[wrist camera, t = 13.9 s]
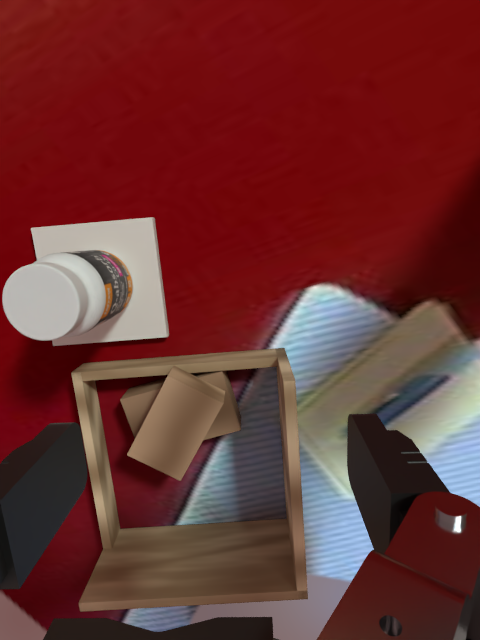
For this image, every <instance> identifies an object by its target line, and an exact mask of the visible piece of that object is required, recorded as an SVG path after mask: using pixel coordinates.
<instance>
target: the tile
mask: <svg viewBox="0 0 480 640" xmlns="http://www.w3.org/2000/svg"><path fill="white" fill-rule="evenodd" d="M31 231H32V237H33V242H34V247H35V253H36V258H37V260H38V259H40V258H42V257H44V256H46V255H49V254H52V253H60V252H75V251H88V250H102V251H106V252H109V253H112V254H114V255H116V256H117V257H119V258H120V259H121V260H122V261H123V262H124V263H125V264H126V265H127V267H128V269H129V270H130V273H131V275H132V278H133V294H132V297H131V300H130V302H129V304H128V305H127V307H126V308H125V309H124V310H123V311H122V312H120V313H119V314H117V315H116V316H114V317H112V318H111V319H109V320H107V321H105V322H103V323H101V324H100V325H98V326H96V327H95V328H93V329H91V330H90V331H88V332H86V333H84V334H82V335H79V336H75V337H61V338H58V339H55V340H52V343H53V346H59V345H72V344H85V343H98V342H111V341H124V340H137V339H149V338H162V337H168V336H169V330H168V322H167V314H166V306H165V298H164V290H163V282H162V274H161V266H160V258H159V250H158V242H157V234H156V226H155V218H153V217H151V218H140V219H128V220H117V221H105V222H94V223H83V224H71V225H60V226H49V227H37V228H31Z"/></svg>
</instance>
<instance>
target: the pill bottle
mask: <svg viewBox="0 0 480 640" xmlns="http://www.w3.org/2000/svg"><path fill="white" fill-rule="evenodd" d="M132 294H133V278H132V275H131V273H130V270H129V269H128V267H127V265H126V264H125V263H124V262H123V261H122V260H121V259H120V258H119V257H117V256H116V255H114V254H112V253H109V252H106V251H102V250H88V251H75V252H60V253H52V254H49V255H46V256H44V257H42V258H40V259H38V260H37V261H36V262H34V263H33V264H30V265H26V266H23V267H21V268H19V269H18V270H16V271H15V272H14V273H13V274H12V275H11V276H10V277H9V279H8V280H7V282H6V284H5V286H4V290H3V296H2V301H3V307H4V311H5V314H6V316H7V318H8V320H9V321H10V323H11V324H12V325H13V326H14V327H15V328H16V329H17V330H18V331H19V332H20V333H22V334H23V335H25V336H27V337H29V338H32V339H35V340H42V341H49V340H55V339H58V338H61V337H75V336H79V335H82V334H84V333H86V332H88V331H90V330H91V329H93V328H95V327H96V326H98V325H100V324H101V323H103V322H105V321H107V320H109V319H111V318H112V317H114V316H116V315H117V314H119V313H120V312H122V311H123V310H124V309H125V308H126V307H127V305H128V304H129V302H130V300H131V297H132Z"/></svg>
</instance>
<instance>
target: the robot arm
mask: <svg viewBox="0 0 480 640" xmlns="http://www.w3.org/2000/svg"><path fill="white" fill-rule="evenodd" d="M347 466H348V475H349V481H350V485H351V488H352V491H353V493H354V496H355V499H356V502H357V504H358V507H359V510H360V512H361V515H362V518H363V521H364V523H365V526H366V529H367V532H368V534H369V537H370V540H371V542H372V545H373V548H374V550H372V551H371V552H370V553H369V554H368V556H367V557H366V559H365V561H364V562H363V564H362V566H361V567H360V569H359V570H358V572H357V574H356V575H355V577H354V579H353V580H352V582H351V584H350V585H349V587H348V589H347V590H346V592H345V594H344V595H343V597H342V599H341V600H340V602H339V604H338V605H337V607H336V609H335V610H334V612H333V613H332V615H331V617H330V619H329V620H328V622H327V623H326V625H325V627H324V628H323V630H322V632H321V633H320V635H319V637H318V638H317V640H480V507H479V506H477V505H476V504H474V503H473V502H471V501H470V500H468V499H466V498H463V497H461V496H458V495H455V494H452V493H450V492H449V490H448V489H447V488H446V486H445V485H444V484H443V482H442V481H441V479H440V478H439V477H438V475H437V474H436V473H435V471H434V470H433V468H432V467H431V466H430V464H429V463H427V460H426V459H425V458H424V456H423V455H422V453H420V451H419V449H418V448H417V447H416V445H415V444H414V442H413V441H412V440H411V439H410V438H408V437H407V436H405V435H403V434H402V433H400V432H399V431H397V430H388V431H387V430H386V428H385V427H384V425H383V424H382V422H381V420H380V419H379V417H378V416H377V414H350V415H349V417H348V448H347ZM86 481H87V465H86V459H85V453H84V447H83V440H82V434H81V429H80V426H79V425H78V424H77V423H51V424H49V425H47V426H46V427H45V428H44V429H43V430H42V431H41V432H40V433H39V434H38V435H37V436H36V437H35V438H34V439H33V440H32V441H29V442H27V443H26V444H24V445H22V446H20V447H19V448H17V449H15V450H14V451H12V452H11V453H10V454H9V455H8V456H7V457H6V458H5V459H4V460H3V461H2V463H1V464H0V589H20V587H21V586H22V584H23V583H24V581H25V580H26V578H27V577H28V575H29V574H30V572H31V570H32V569H33V567H34V566H35V564H36V563H37V561H38V560H39V558H40V557H41V555H42V554H43V552H44V551H45V549H46V547H47V546H48V544H49V543H50V541H51V540H52V538H53V537H54V535H55V534H56V532H57V531H58V529H59V527H60V526H61V524H62V523H63V521H64V520H65V518H66V517H67V515H68V514H69V512H70V511H71V509H72V508H73V506H74V504H75V503H76V501H77V500H78V498H79V497H80V495H81V494H82V492H83V490H84V488H85V485H86ZM43 640H279V639H275V638H273V624H272V617H221V618H219V617H218V618H214V619H210V620H206V621H202V622H198V623H194V624H190V625H187V626H183V627H179V628H175V629H171V630H167V631H163V632H153V631H149V630H146V629H142V628H139V627H135V626H132V625H128V624H125V623H121V622H118V621H114V620H111V619H107V618H74V619H54V620H53V621H52V623H51V625H50V627H49V629H48V631H47V633H46V635H45V637H44V639H43Z"/></svg>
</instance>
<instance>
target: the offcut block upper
mask: <svg viewBox="0 0 480 640" xmlns="http://www.w3.org/2000/svg"><path fill="white" fill-rule="evenodd" d="M224 397H225V391H224V390H222V389H220V388H218V387H216V386H214V385H212V384H210V383H208V382H206V381H204V380H202V379H200V378H198V377H196V376H194V375H192V374H190V373H188V372H186V371H184V370H182V369H180V368H178V367H176V366H173V368H172V369H171V371H170V373H169V374H168V376H167V378H166V380H165V382H164V384H163V386H162V388H161V390H160V392H159V394H158V396H157V397H156V399H155V401H154V403H153V405H152V407H151V409H150V411H149V413H148V415H147V417H146V419H145V421H144V423H143V425H142V427H141V429H140V430H139V432H138V434H137V436H136V438H135V440H134V442H133V444H132V446H131V448H130V450H129V452H128V454H127V456H130V457H132V458H134V459H136V460H138V461H140V462H142V463H144V464H146V465H148V466H150V467H152V468H155V469H157V470H159V471H161V472H163V473H165V474H167V475H169V476H171V477H173V478H175V479H177V480H180V481H181V479H182V477H183V475H184V474H185V472H186V470H187V468H188V466H189V465H190V463H191V461H192V459H193V457H194V456H195V454H196V452H197V450H198V448H199V447H200V445H201V443H202V441H203V439H204V438H205V436H206V434H207V432H208V430H209V429H210V427H211V425H212V423H213V421H214V420H215V418H216V416H217V414H218V412H219V411H220V409H221V407H222V405H223V403H224Z"/></svg>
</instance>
